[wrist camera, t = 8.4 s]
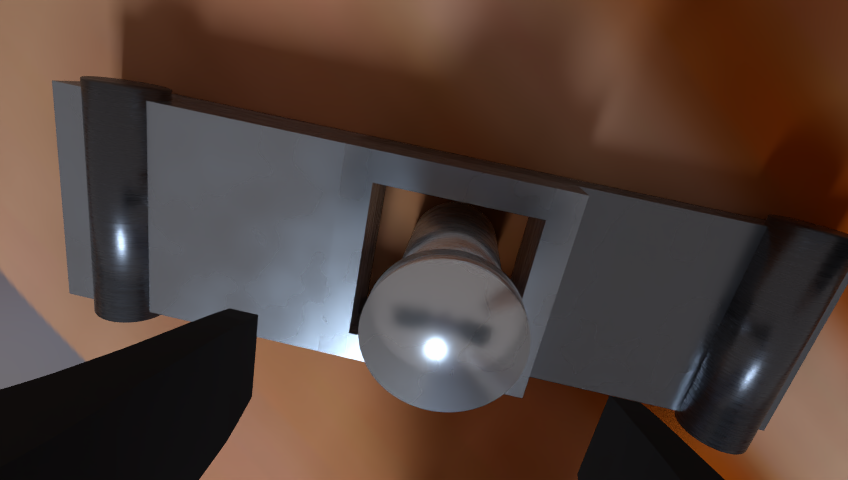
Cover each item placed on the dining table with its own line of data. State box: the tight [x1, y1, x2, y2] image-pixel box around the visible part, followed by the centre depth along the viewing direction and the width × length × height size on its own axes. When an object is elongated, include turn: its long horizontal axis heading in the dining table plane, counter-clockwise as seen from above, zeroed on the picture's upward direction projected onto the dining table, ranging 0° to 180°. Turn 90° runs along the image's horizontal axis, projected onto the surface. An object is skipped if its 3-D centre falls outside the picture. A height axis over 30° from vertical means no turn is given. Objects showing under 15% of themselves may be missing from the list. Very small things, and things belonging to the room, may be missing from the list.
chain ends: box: [52, 76, 848, 454], centre depth 15 cm, size 8×26×3 cm, turn 79°
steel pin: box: [358, 202, 531, 412], centre depth 13 cm, size 4×4×7 cm
